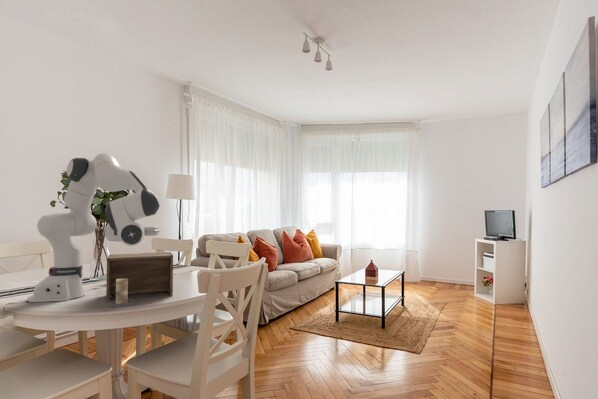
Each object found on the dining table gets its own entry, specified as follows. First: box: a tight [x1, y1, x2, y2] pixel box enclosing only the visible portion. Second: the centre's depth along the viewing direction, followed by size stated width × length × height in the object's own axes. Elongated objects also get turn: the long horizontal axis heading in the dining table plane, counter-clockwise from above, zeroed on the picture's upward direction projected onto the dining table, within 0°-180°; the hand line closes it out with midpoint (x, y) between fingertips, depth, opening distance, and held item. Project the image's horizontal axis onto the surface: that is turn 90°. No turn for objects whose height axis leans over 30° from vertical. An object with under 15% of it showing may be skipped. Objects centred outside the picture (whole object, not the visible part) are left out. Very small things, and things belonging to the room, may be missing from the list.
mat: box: [107, 298, 135, 308], centre depth 165 cm, size 10×10×1 cm
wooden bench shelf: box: [105, 251, 174, 302], centre depth 181 cm, size 15×28×19 cm, turn 113°
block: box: [115, 278, 129, 304], centre depth 165 cm, size 4×4×10 cm
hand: (132, 230), depth 162 cm, fingers open, 8 cm apart
